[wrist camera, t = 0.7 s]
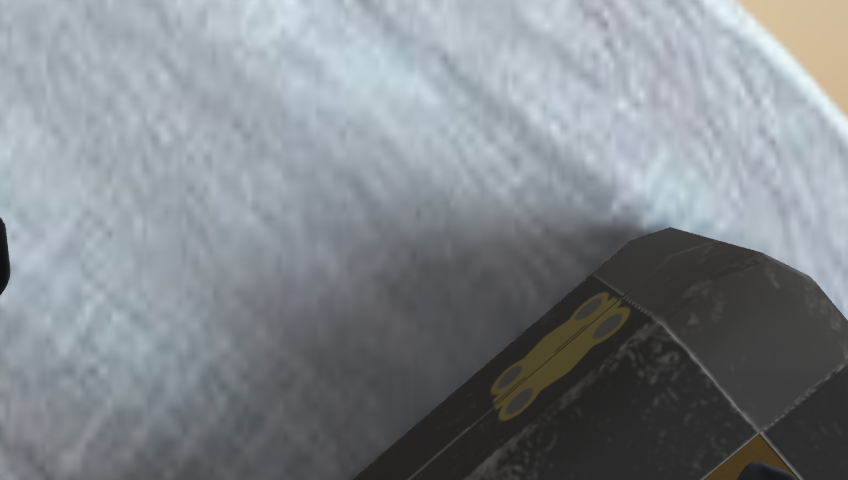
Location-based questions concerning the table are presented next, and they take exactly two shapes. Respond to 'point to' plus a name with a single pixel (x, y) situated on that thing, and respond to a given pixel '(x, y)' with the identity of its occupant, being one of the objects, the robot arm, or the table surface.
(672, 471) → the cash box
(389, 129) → the table surface
